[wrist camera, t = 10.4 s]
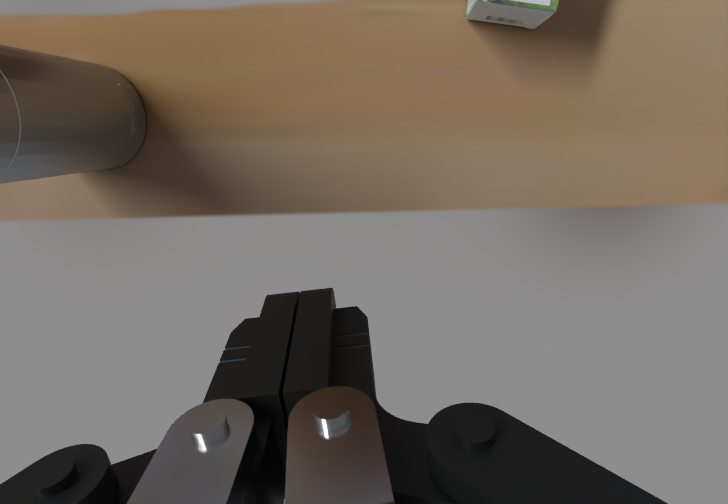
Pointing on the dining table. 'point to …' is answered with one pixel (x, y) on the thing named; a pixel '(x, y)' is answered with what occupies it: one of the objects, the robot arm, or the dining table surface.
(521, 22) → the syrup box
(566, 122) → the dining table surface
